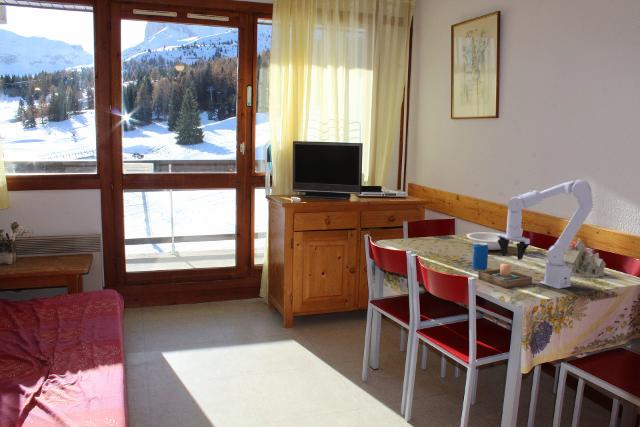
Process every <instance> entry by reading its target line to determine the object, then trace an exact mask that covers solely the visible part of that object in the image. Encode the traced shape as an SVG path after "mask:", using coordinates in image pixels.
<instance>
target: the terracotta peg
mask: <svg viewBox="0 0 640 427" xmlns="http://www.w3.org/2000/svg"><path fill="white" fill-rule="evenodd" d="M511 266H512V265H511V264H509V263H500V266H499V269H500V277H503V278H510V270H511Z"/></svg>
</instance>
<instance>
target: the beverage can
mask: <svg viewBox="0 0 640 427" xmlns="http://www.w3.org/2000/svg"><path fill="white" fill-rule="evenodd" d="M488 256H489V250H488V245H487V243H484V242H475V243H474V244H473V246H472V262H471V264H472V265H471V266H472V267H471V268H472V269H473V270H474V271H476V270H477V272H480V271H487V270H488V261H489V260H488V259H489V257H488Z"/></svg>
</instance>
